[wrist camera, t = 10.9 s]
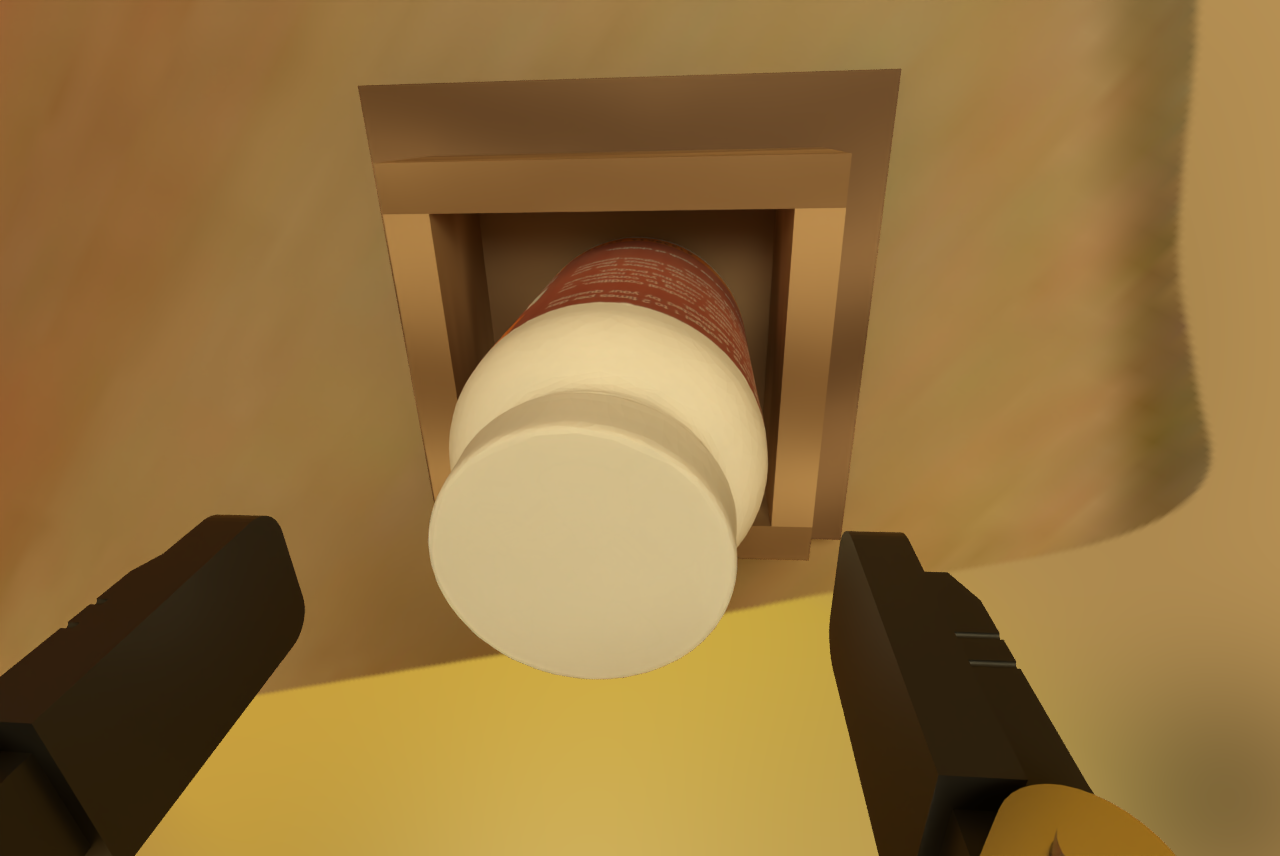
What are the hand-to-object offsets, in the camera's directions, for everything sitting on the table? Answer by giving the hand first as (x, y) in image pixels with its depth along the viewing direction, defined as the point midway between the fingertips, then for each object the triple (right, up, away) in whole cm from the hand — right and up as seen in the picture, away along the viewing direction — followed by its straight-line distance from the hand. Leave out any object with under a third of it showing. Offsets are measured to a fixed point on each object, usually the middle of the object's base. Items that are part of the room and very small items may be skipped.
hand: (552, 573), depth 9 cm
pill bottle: (+1, +5, +10) cm, 12 cm away
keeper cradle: (+1, +5, +11) cm, 13 cm away
